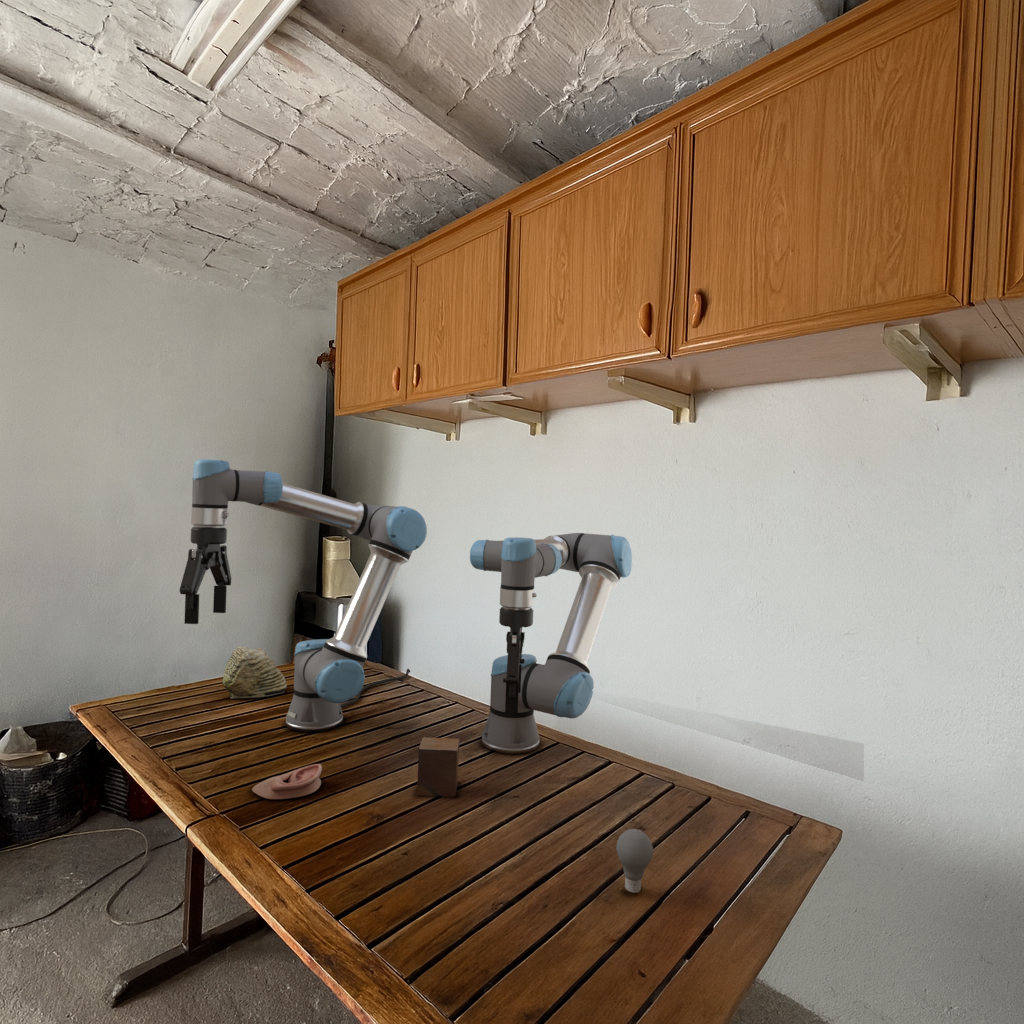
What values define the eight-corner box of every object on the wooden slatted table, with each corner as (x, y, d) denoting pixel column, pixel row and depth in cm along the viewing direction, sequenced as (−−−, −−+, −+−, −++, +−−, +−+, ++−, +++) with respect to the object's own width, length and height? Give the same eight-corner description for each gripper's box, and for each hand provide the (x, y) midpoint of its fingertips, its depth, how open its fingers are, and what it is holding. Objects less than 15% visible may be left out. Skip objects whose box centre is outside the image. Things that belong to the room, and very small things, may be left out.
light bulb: (610, 879, 108) (613, 822, 108) (644, 879, 109) (647, 822, 109) (619, 902, 102) (622, 840, 102) (655, 901, 103) (658, 840, 103)
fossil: (218, 695, 195) (220, 647, 195) (278, 685, 208) (279, 640, 207) (228, 703, 189) (230, 653, 188) (289, 692, 201) (290, 645, 201)
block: (416, 795, 136) (418, 748, 136) (420, 782, 143) (422, 737, 143) (455, 797, 136) (457, 750, 136) (457, 783, 143) (459, 738, 143)
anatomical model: (244, 776, 132) (275, 755, 144) (243, 795, 132) (274, 772, 144) (301, 785, 130) (329, 762, 141) (301, 804, 130) (328, 780, 141)
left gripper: (199, 529, 134) (195, 629, 134) (247, 525, 159) (244, 609, 159) (163, 528, 134) (160, 628, 134) (217, 523, 159) (214, 608, 159)
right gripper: (532, 619, 128) (528, 722, 129) (534, 598, 153) (531, 685, 154) (495, 617, 129) (491, 720, 129) (503, 597, 153) (500, 683, 154)
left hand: (206, 618), depth 147 cm, fingers open, 13 cm apart
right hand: (513, 701), depth 141 cm, fingers open, 13 cm apart
